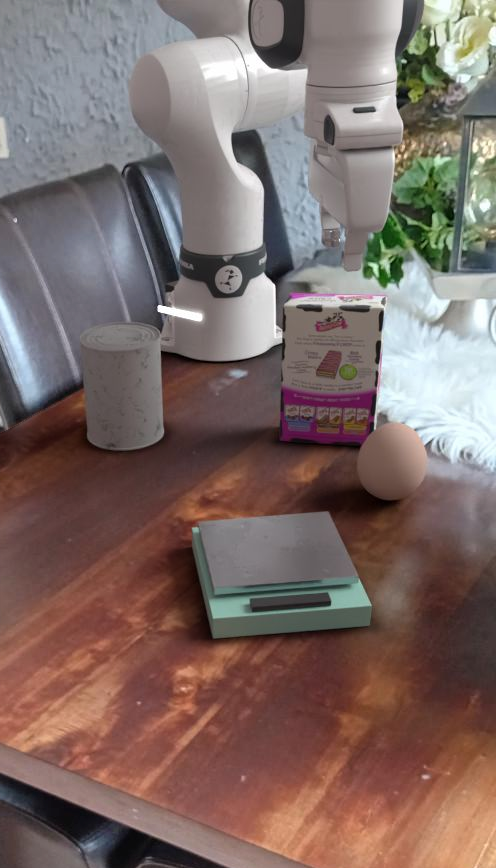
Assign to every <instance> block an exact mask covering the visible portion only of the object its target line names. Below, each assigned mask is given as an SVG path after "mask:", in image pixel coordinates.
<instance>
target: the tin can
mask: <svg viewBox="0 0 496 868" xmlns="http://www.w3.org/2000/svg"><path fill="white" fill-rule="evenodd" d="M160 337H161V331H160V330H159V329H158V328H157V327H155V326H154V325H150V324H147V323H144V322H143V323H142V322H135V321H115V322H108V323H107V322H106V323H103V324H98V325H95V326H92V327H90V328H87V329H85V330H83V332H81V333H80V334H79V337H78V342H79V346H80V347H79V348H80V357H81V358H80V359H81V369H82V370H81V371H82V381H83V382H82V383H83V392H84V393H83V394H84V405H85V417H86V418H85V419H86V429H87V432H86V437H87V440H88V441H89V443H90V444H92V445H93V446H95V447H97V448H99V449H103V450H107V451H109V450H110V451H119V452H120V451H123V452H125V451H135V450H141V449H144V448H148V447H150V446H152V445H155V444H156V443H157V442H159V441H160V440H161V439H162V438H163V437H164V434H165V428H164V411H163V410H164V409H163V408H164V407H163V383H162V382H163V380H162V355H161V354H162V353H161V350H160Z"/></svg>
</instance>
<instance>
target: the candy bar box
mask: <svg viewBox="0 0 496 868" xmlns="http://www.w3.org/2000/svg"><path fill="white" fill-rule="evenodd" d="M387 305H388V295H387V294H361V293H360V294H358V293H310V292H308V293H307V292H299V293H298V292H289V294H288V297H287V299H286V301H285V302H284V304H283V306H282V322H281V325H282V326H281V327H282V328H281V329H282V343H281V367H280V371H281V372H280V399H279V400H280V403H279V407H280V408H279V429H278V430H279V431H278V433H279V434H278V435H279V436H278V437H279V441H282V442H290V443H306V444H307V443H308V444H322V445H324V444H325V445H338V446H339V445H340V446H355V447H356V446H357V447H361V446H362V445H363V443H364V442H365V440H366V439H367V437H368V436H369V435H370V434H371V433H372V432H373V431H374V430H375V429H376V428H377V425H378V424H377V423H378V409H379V399H380V389H381V388H380V387H381V374H382V363H383V350H384V341H385V340H384V339H385V327H386V316H387Z"/></svg>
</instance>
